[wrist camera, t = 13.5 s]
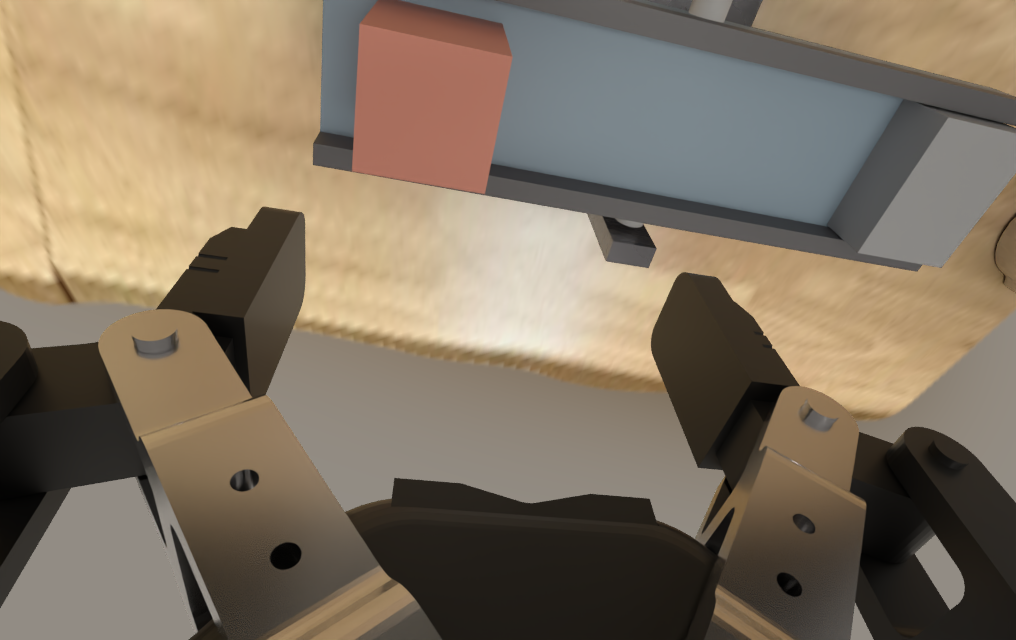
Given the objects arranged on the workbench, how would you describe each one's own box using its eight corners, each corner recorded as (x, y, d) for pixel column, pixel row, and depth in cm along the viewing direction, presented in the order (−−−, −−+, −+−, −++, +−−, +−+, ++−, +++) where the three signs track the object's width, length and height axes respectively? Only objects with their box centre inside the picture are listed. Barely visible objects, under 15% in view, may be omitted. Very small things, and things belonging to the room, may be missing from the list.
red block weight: (502, 23, 24) (512, 56, 19) (480, 139, 26) (484, 194, 22) (381, -4, 23) (359, 23, 18) (372, 119, 26) (351, 171, 21)
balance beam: (1006, 67, 28) (1089, 93, 24) (873, 257, 34) (923, 301, 30) (333, -110, 22) (307, -111, 18) (325, 159, 28) (305, 199, 25)
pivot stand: (784, -76, 32) (938, -60, 22) (665, 209, 43) (730, 311, 32) (547, -146, 30) (594, -165, 19) (482, 175, 40) (490, 275, 30)
